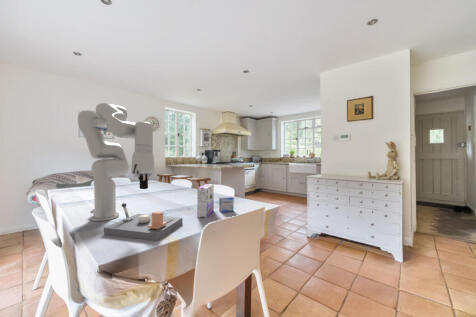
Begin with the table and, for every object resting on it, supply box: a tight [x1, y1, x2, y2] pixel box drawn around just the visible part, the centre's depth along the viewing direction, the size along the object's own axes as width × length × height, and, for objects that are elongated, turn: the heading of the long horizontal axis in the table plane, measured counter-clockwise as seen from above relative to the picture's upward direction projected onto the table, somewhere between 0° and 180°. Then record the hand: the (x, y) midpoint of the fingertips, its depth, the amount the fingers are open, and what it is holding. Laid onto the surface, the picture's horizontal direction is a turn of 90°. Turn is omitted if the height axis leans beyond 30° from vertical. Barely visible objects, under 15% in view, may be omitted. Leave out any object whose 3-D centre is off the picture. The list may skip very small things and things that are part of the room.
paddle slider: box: [148, 211, 167, 229], centre depth 84 cm, size 5×6×6 cm
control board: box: [103, 213, 183, 242], centre depth 90 cm, size 26×20×4 cm
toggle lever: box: [121, 202, 130, 219], centre depth 93 cm, size 2×2×7 cm
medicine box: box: [218, 195, 235, 214], centre depth 119 cm, size 8×4×9 cm, turn 114°
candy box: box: [196, 183, 215, 219], centre depth 113 cm, size 14×6×16 cm, turn 172°
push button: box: [138, 214, 151, 223], centre depth 90 cm, size 5×5×2 cm
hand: (143, 188), depth 90 cm, fingers closed
